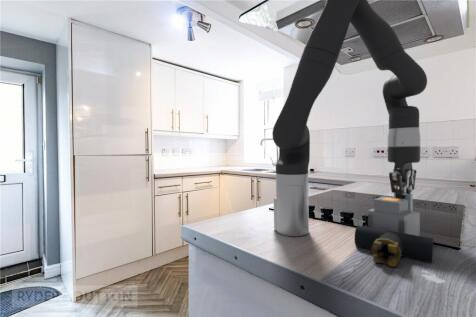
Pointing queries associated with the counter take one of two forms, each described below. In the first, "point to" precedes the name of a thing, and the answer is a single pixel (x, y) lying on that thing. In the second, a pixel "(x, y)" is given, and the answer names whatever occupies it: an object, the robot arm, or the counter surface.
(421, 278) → the counter surface
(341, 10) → the robot arm
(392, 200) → the plunger
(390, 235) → the pipe connector
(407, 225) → the housing
